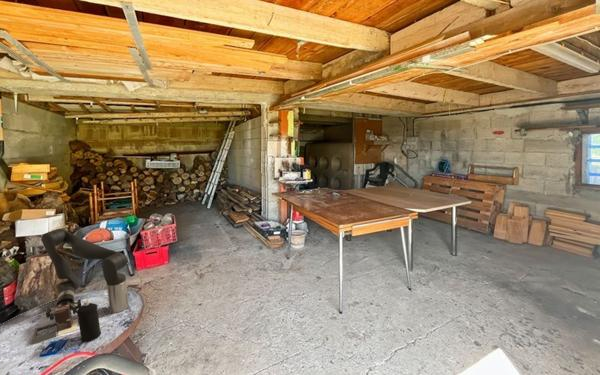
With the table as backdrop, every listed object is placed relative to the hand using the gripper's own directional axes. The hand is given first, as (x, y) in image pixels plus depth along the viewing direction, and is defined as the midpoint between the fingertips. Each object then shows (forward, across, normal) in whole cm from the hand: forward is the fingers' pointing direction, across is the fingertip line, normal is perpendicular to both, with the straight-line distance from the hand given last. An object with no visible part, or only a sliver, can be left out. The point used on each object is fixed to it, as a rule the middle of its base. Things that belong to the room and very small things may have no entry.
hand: (63, 315), depth 139 cm
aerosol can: (+14, +11, +8) cm, 20 cm away
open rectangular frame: (0, -7, +7) cm, 10 cm away
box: (0, 0, +7) cm, 7 cm away
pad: (0, +1, +7) cm, 8 cm away
